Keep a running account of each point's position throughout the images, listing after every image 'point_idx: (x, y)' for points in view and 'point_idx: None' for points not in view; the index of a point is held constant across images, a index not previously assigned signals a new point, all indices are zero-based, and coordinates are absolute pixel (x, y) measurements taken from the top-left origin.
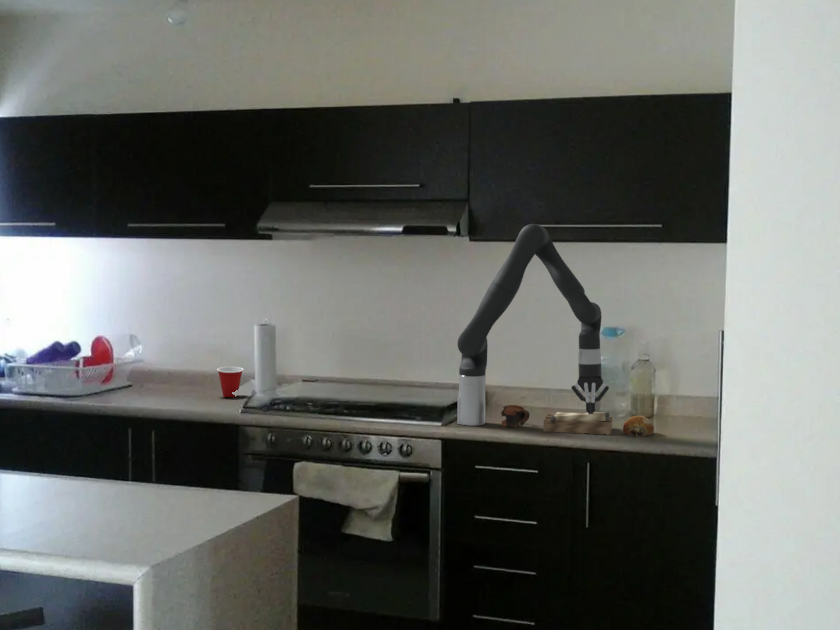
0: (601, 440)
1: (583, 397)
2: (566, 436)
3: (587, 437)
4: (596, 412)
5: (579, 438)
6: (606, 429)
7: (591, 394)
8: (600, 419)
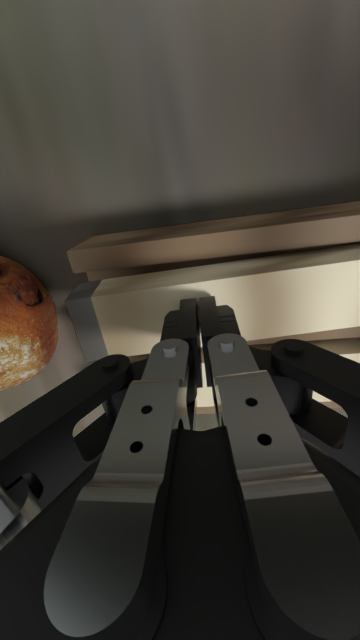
0: (79, 18)
1: (282, 375)
2: (327, 62)
3: (187, 95)
4: None
5: (232, 21)
6: (102, 238)
7: (177, 384)
8: (131, 278)
